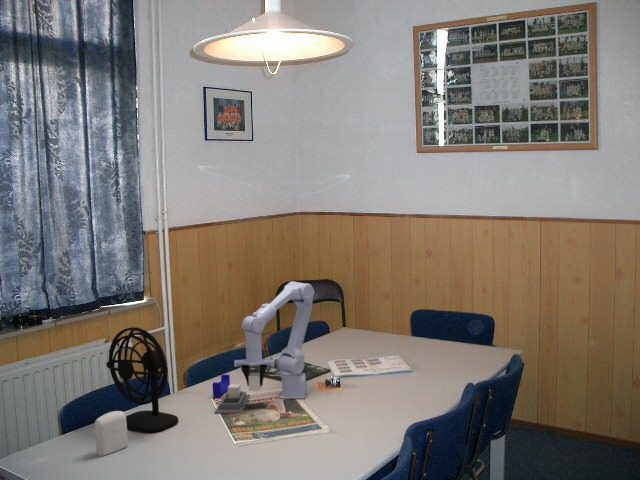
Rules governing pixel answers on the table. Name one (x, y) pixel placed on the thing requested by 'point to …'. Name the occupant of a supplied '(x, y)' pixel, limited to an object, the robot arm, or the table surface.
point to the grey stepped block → (233, 400)
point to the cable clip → (221, 386)
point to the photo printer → (111, 432)
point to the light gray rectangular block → (254, 382)
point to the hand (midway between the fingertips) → (255, 385)
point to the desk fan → (151, 363)
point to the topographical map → (275, 374)
